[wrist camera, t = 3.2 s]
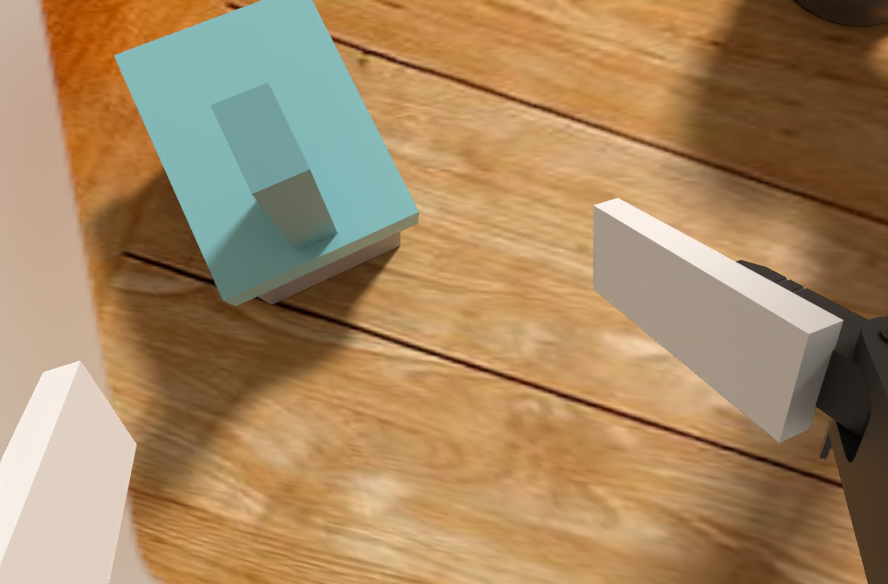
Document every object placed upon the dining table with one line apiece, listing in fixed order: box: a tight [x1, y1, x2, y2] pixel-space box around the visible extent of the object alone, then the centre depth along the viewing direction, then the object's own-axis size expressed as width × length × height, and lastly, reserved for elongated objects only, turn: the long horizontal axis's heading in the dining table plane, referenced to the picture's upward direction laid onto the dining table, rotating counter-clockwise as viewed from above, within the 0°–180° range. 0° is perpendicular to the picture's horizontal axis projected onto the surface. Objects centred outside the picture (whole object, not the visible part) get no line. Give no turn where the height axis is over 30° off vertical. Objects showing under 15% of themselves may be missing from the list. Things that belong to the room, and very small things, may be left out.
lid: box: [114, 0, 419, 306], centre depth 27 cm, size 16×12×11 cm
